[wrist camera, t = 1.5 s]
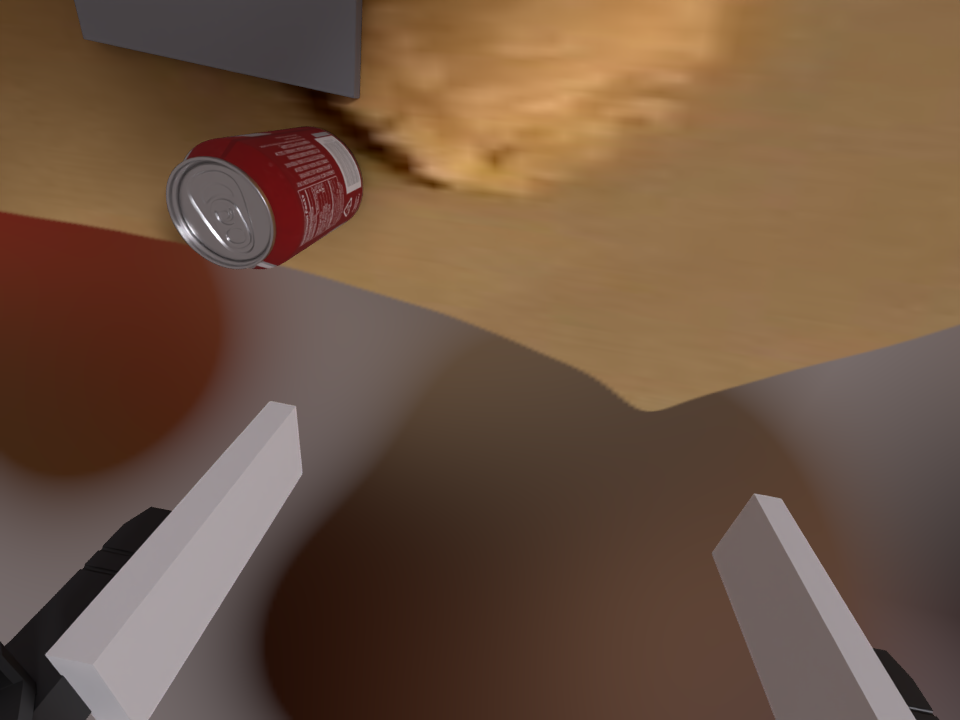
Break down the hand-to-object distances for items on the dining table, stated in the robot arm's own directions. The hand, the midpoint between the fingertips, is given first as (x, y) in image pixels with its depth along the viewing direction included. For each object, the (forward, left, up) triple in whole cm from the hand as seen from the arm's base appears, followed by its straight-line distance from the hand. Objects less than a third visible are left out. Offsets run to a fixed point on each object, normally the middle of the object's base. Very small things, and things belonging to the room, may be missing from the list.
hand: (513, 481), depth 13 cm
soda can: (-2, -16, -24) cm, 29 cm away
